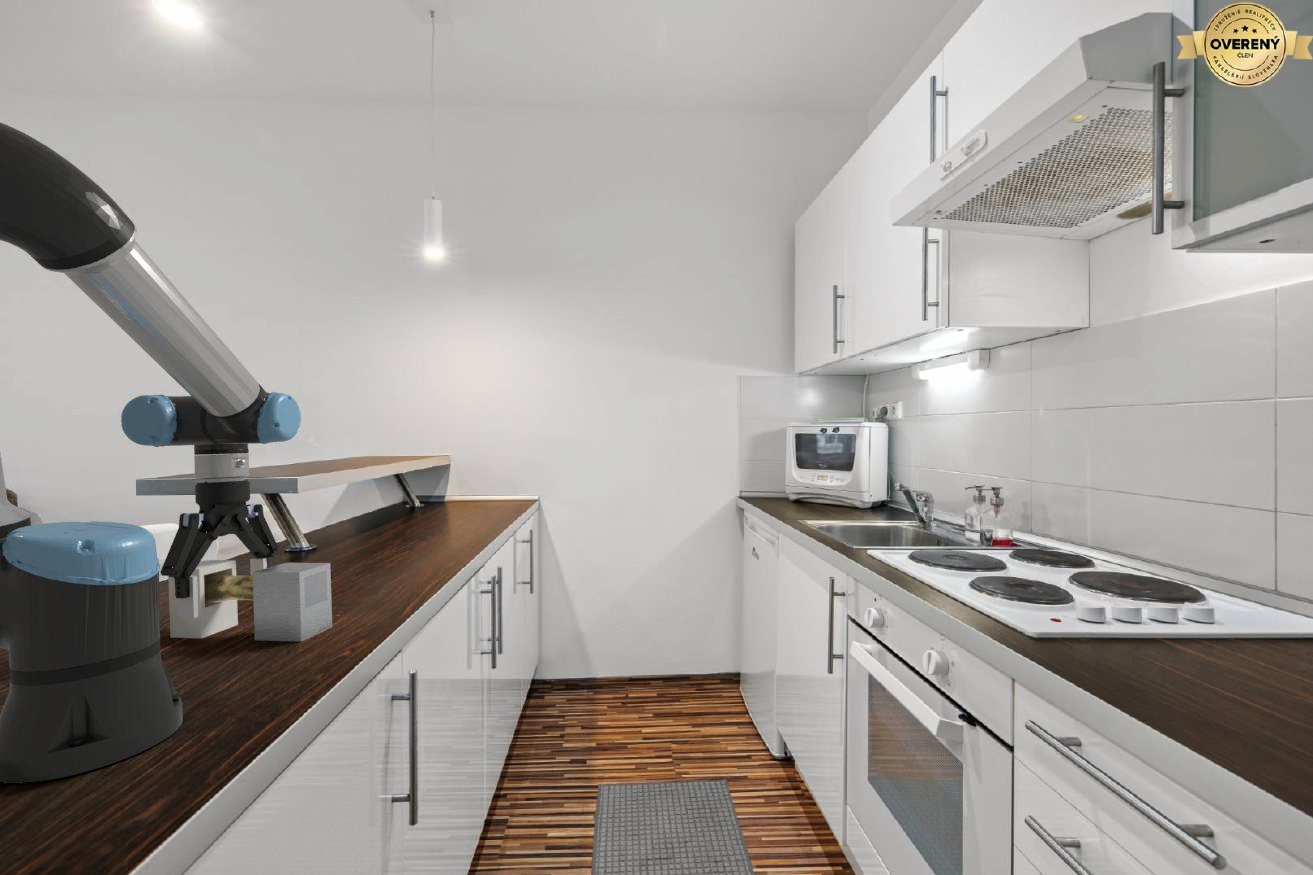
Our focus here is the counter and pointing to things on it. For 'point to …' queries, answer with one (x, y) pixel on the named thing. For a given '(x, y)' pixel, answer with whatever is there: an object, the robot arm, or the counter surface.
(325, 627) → the grey block
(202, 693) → the counter surface
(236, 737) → the counter surface
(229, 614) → the socket
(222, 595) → the mottled khaki block
